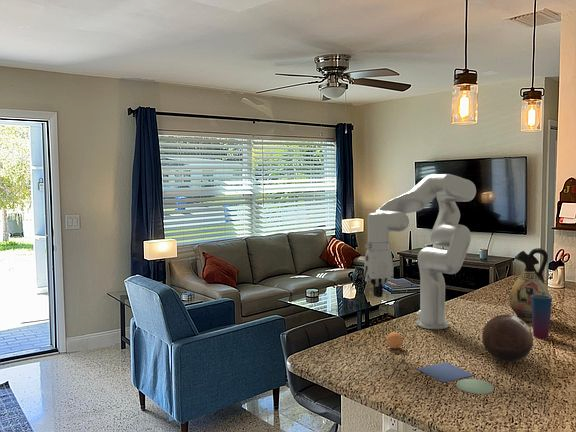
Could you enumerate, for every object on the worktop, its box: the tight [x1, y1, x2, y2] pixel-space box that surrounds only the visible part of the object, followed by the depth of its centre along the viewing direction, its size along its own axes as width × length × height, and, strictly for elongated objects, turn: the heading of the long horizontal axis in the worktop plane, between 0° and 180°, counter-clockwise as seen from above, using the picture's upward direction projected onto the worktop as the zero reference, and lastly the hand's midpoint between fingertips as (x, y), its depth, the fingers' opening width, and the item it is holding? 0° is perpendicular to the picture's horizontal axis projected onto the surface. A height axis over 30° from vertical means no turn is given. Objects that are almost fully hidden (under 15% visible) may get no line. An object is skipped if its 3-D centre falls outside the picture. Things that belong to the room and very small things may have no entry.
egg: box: [386, 331, 404, 350], centre depth 177 cm, size 6×6×6 cm
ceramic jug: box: [508, 247, 551, 323], centre depth 208 cm, size 17×15×30 cm
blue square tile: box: [416, 361, 475, 384], centre depth 155 cm, size 12×12×1 cm
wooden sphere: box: [481, 314, 534, 364], centre depth 162 cm, size 15×15×15 cm
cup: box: [531, 294, 553, 339], centre depth 186 cm, size 7×7×15 cm
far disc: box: [455, 378, 495, 395], centre depth 144 cm, size 10×10×1 cm
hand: (378, 296), depth 184 cm, fingers closed
